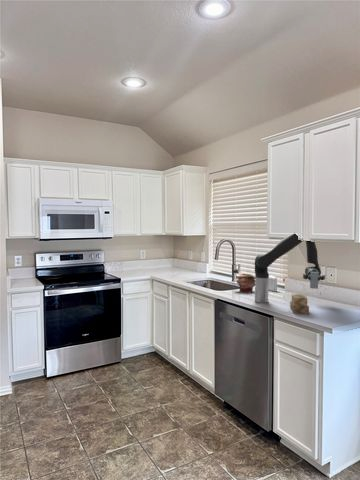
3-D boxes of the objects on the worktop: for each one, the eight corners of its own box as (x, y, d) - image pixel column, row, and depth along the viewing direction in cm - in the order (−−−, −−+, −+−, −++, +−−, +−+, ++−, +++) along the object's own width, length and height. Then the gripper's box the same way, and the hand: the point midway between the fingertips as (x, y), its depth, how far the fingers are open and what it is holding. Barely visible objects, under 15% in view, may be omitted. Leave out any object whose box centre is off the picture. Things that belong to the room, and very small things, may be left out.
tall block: (310, 288, 215) (310, 272, 214) (310, 286, 219) (310, 271, 219) (317, 288, 213) (318, 272, 213) (317, 287, 218) (318, 271, 217)
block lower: (293, 314, 212) (293, 306, 212) (290, 308, 226) (290, 301, 225) (308, 315, 210) (308, 306, 210) (304, 309, 224) (304, 301, 224)
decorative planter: (252, 289, 291) (253, 273, 291) (262, 291, 280) (262, 274, 280) (233, 291, 283) (233, 274, 282) (241, 293, 272) (242, 276, 271)
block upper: (293, 305, 213) (293, 297, 212) (291, 301, 224) (291, 294, 224) (307, 306, 211) (307, 298, 211) (304, 302, 223) (304, 294, 222)
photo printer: (265, 289, 291) (265, 275, 290) (268, 289, 293) (269, 274, 292) (274, 291, 282) (274, 276, 281) (277, 291, 284) (278, 276, 283)
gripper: (302, 268, 232) (302, 272, 215) (325, 269, 227) (327, 273, 211) (302, 279, 232) (301, 284, 216) (324, 281, 227) (326, 285, 211)
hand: (314, 279), depth 213 cm, fingers closed on tall block, 4 cm apart
